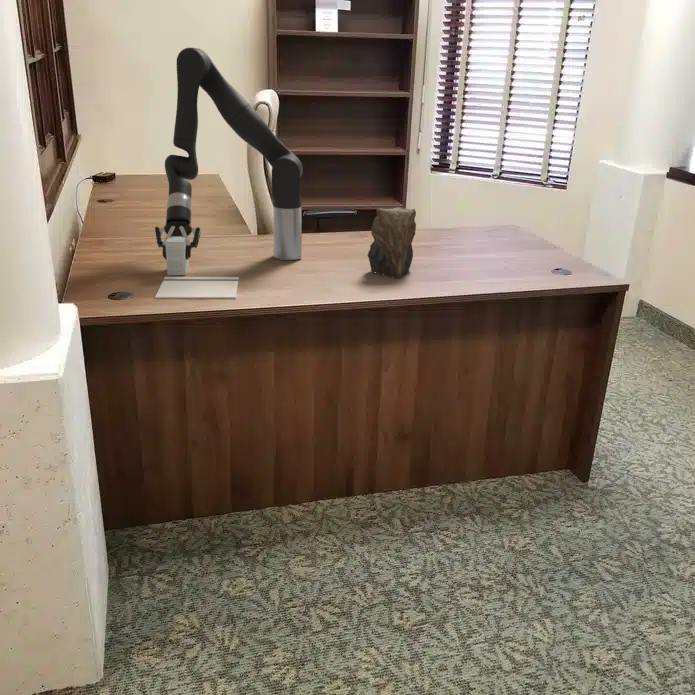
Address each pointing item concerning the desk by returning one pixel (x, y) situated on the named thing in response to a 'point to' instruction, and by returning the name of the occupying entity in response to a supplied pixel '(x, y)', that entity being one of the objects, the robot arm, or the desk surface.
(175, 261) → the small box
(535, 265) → the desk surface
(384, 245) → the owl
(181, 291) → the mat
